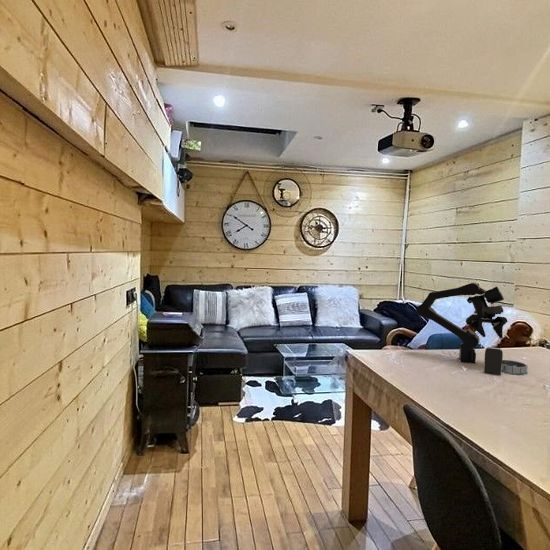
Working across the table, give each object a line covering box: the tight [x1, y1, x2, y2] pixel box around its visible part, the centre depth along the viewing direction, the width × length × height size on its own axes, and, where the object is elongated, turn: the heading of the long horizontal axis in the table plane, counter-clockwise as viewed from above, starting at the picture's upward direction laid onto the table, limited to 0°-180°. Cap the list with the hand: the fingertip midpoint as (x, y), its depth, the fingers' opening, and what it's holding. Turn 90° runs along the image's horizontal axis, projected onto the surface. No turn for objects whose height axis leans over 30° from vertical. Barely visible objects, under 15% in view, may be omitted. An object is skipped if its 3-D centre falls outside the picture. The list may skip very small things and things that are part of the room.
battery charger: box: [483, 346, 504, 376], centre depth 185 cm, size 7×4×11 cm, turn 63°
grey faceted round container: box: [501, 359, 529, 376], centre depth 191 cm, size 13×13×3 cm
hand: (493, 337), depth 190 cm, fingers open, 9 cm apart
